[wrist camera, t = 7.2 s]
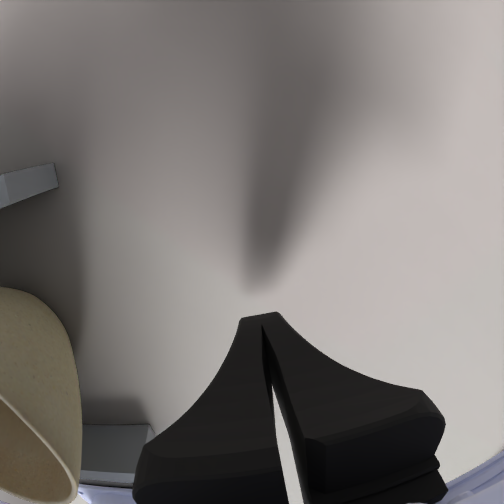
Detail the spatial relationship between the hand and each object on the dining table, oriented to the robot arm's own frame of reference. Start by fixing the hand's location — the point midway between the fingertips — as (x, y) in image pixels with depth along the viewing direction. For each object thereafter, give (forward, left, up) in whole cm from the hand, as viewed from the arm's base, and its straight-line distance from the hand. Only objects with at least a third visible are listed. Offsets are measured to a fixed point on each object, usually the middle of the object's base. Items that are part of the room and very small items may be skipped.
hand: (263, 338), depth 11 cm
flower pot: (0, +12, -3) cm, 12 cm away
